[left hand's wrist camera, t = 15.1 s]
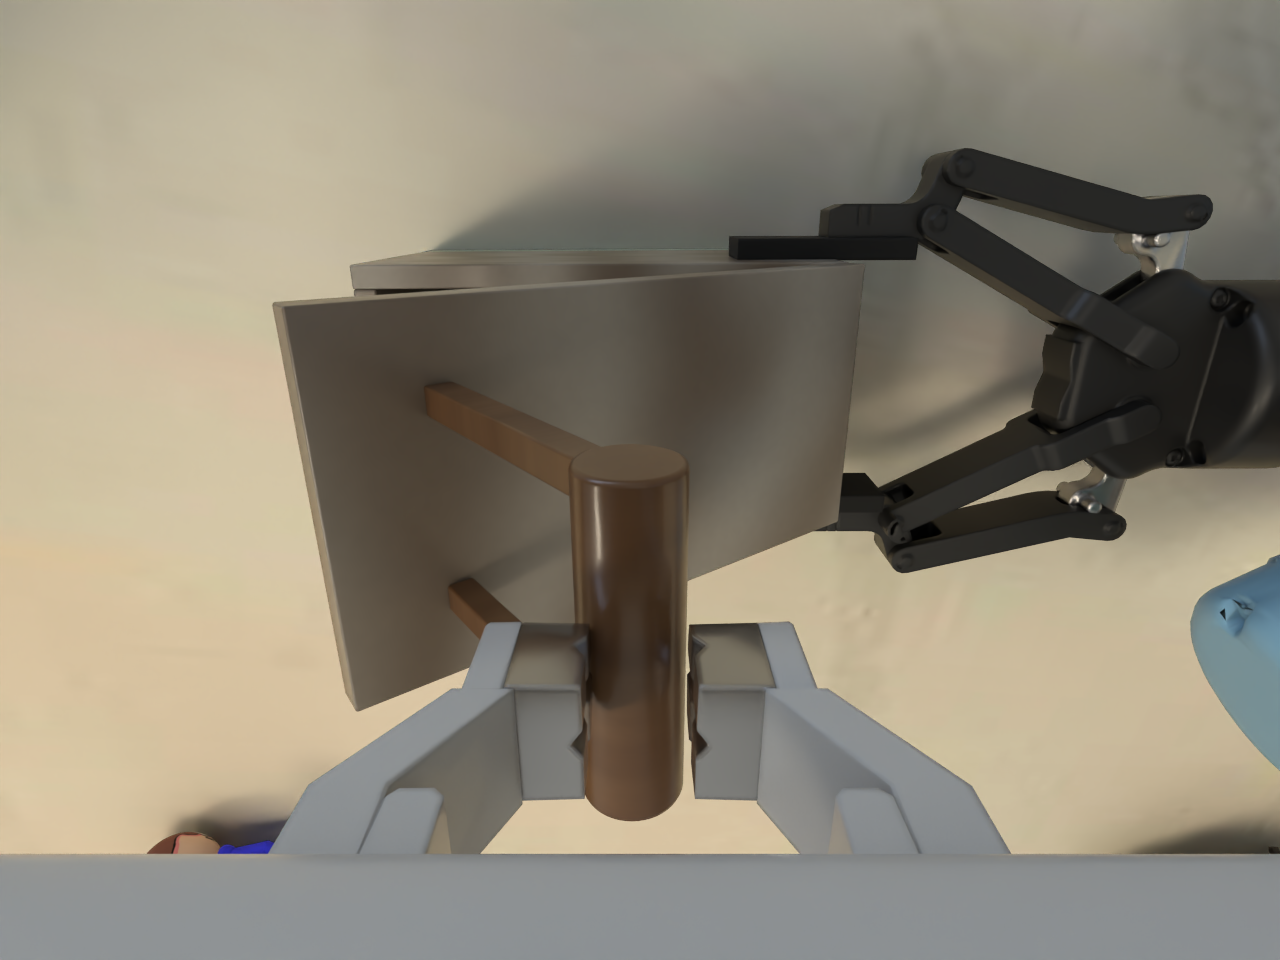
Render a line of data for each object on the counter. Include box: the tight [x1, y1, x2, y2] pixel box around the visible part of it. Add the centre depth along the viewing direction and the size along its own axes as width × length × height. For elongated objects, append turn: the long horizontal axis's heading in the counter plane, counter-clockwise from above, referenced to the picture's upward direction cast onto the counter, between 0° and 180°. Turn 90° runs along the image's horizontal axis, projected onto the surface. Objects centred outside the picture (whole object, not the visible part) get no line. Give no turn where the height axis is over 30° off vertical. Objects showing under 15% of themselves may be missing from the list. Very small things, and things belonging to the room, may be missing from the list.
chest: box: [350, 249, 848, 297], centre depth 30 cm, size 17×9×10 cm, turn 90°
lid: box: [272, 263, 865, 821], centre depth 17 cm, size 18×9×9 cm
